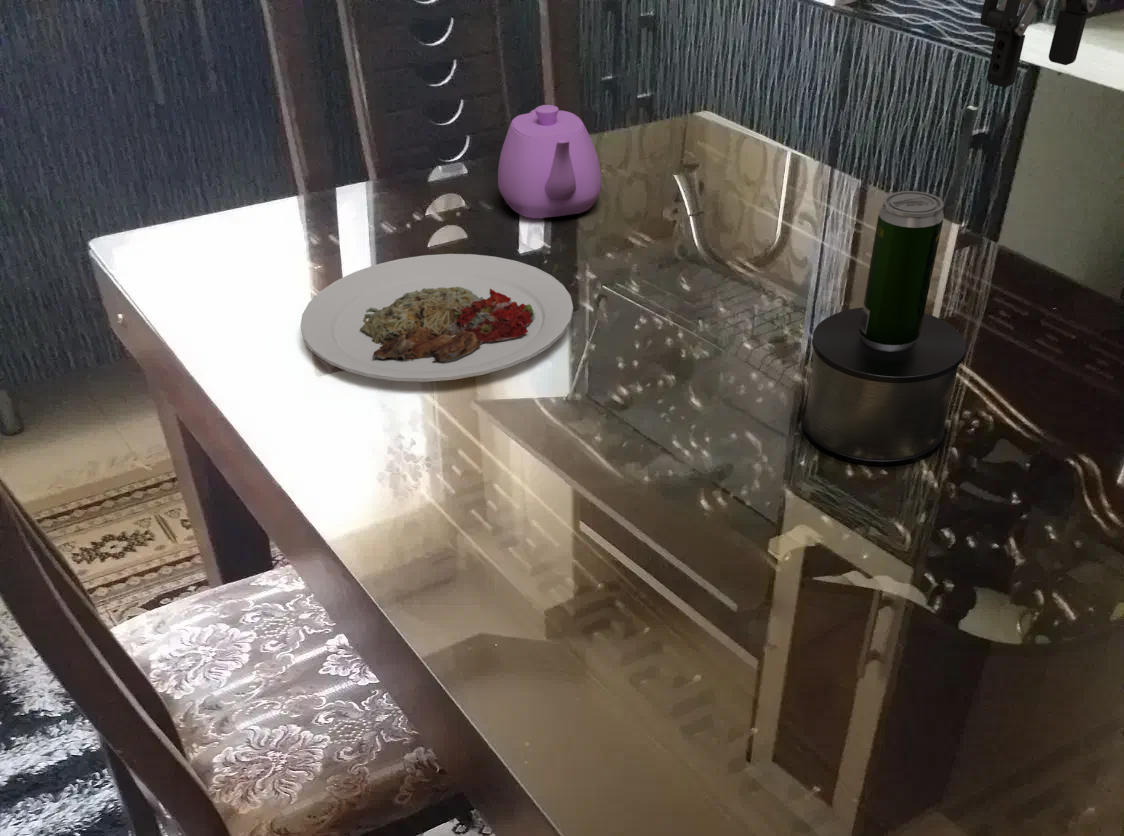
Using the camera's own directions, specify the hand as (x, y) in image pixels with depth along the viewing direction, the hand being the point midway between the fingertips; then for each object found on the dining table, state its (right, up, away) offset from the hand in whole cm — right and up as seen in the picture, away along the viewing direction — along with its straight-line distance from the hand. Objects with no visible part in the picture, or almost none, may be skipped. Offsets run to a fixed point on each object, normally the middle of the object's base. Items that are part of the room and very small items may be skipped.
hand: (1030, 73), depth 96 cm
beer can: (-10, -19, +8) cm, 23 cm away
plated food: (-53, -10, +32) cm, 63 cm away
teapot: (-41, +14, +55) cm, 69 cm away
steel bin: (-9, -26, +15) cm, 31 cm away
